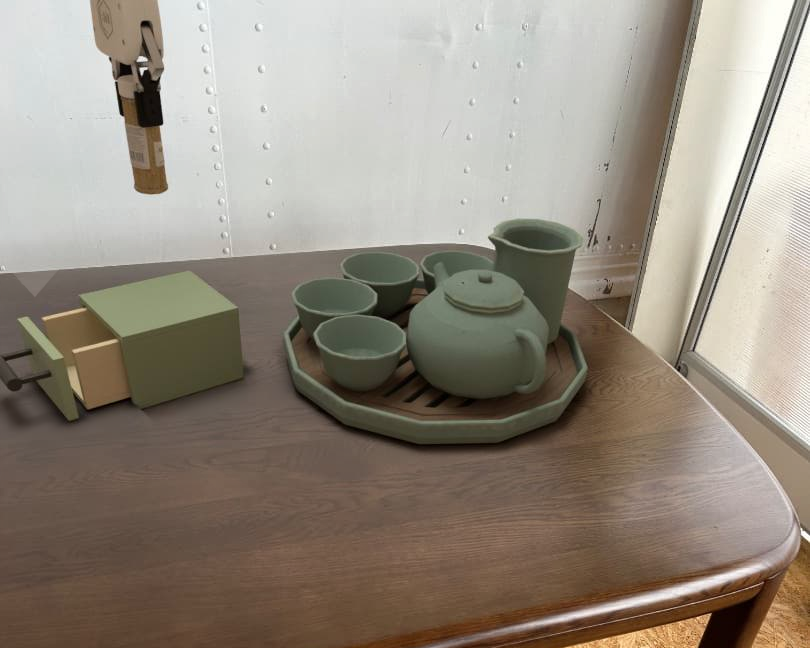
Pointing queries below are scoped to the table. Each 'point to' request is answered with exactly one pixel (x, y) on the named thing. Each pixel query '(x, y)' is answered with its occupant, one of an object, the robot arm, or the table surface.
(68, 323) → the drawer
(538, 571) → the table surface
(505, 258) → the tea set
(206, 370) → the cabinet
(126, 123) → the sprinkles bottle
